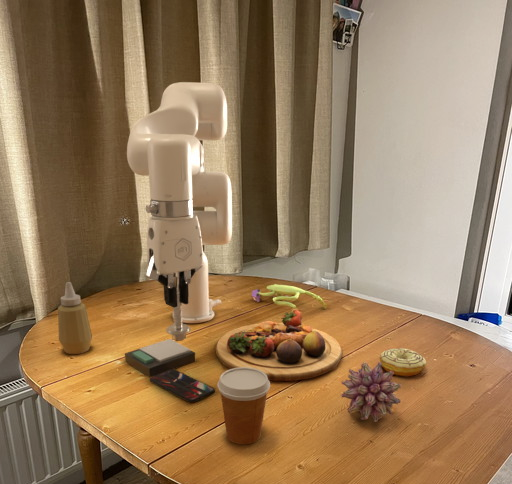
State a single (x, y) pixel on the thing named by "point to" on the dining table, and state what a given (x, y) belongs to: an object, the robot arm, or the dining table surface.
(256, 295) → the figurine
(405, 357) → the decorated donut
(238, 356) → the wooden plate
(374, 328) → the dining table surface
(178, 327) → the screw
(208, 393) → the smartphone
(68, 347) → the squeeze bottle
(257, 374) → the disposable coffee cup
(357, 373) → the flower
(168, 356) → the scale
